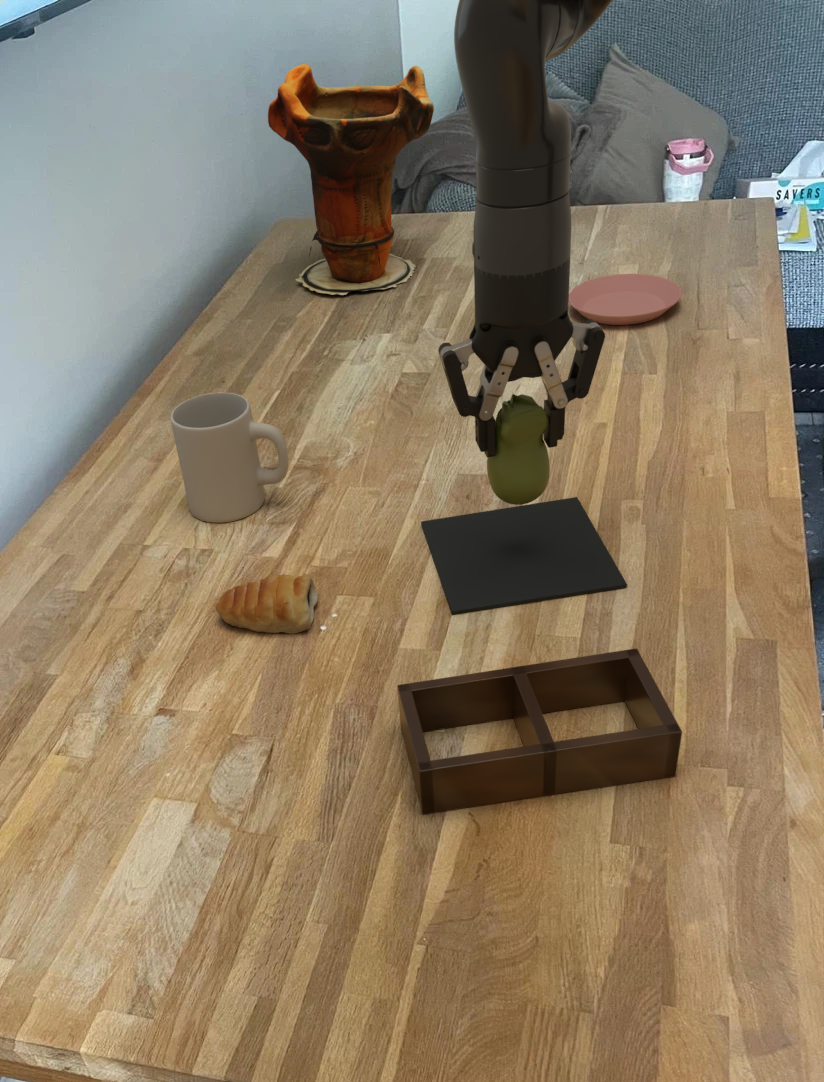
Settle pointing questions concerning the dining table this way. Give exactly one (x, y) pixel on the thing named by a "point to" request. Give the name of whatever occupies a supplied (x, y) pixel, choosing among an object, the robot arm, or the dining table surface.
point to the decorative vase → (352, 171)
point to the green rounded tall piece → (519, 452)
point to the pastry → (271, 604)
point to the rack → (538, 731)
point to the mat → (519, 556)
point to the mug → (224, 456)
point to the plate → (624, 298)
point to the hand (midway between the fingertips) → (519, 447)
